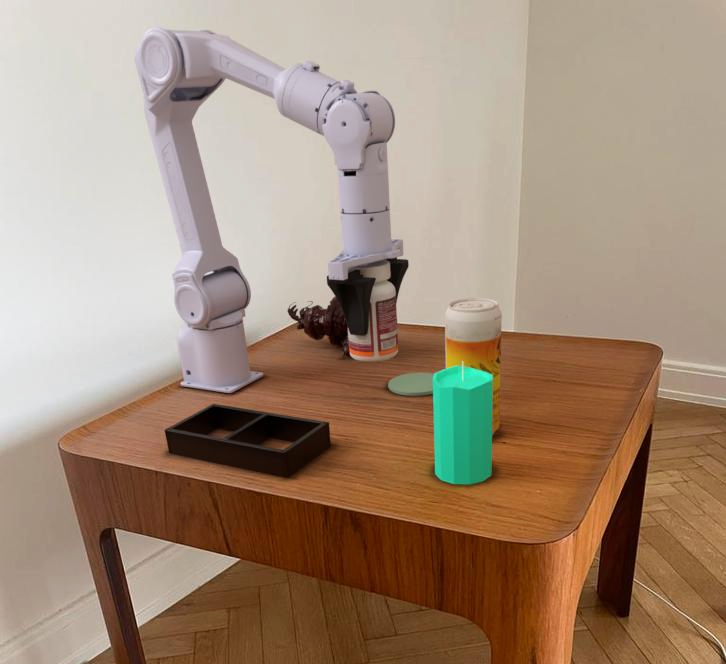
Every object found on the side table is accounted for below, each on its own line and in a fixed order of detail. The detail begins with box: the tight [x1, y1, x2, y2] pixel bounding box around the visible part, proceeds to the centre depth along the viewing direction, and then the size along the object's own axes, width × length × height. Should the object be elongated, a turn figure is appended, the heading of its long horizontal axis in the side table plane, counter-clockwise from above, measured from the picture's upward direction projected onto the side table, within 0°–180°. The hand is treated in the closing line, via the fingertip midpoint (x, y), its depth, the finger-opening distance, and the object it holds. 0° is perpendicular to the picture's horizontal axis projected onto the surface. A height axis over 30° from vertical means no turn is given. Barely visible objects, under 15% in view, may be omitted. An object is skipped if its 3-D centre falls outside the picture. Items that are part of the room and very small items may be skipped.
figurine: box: [287, 295, 351, 359], centre depth 118 cm, size 10×10×18 cm
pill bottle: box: [348, 260, 399, 363], centre depth 91 cm, size 6×6×11 cm
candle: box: [432, 361, 493, 485], centre depth 75 cm, size 6×6×12 cm
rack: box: [164, 403, 332, 479], centre depth 86 cm, size 17×9×3 cm, turn 61°
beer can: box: [444, 297, 503, 436], centre depth 84 cm, size 6×6×15 cm
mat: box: [387, 372, 434, 397], centre depth 102 cm, size 8×8×1 cm
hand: (372, 327), depth 92 cm, fingers closed on pill bottle, 6 cm apart
